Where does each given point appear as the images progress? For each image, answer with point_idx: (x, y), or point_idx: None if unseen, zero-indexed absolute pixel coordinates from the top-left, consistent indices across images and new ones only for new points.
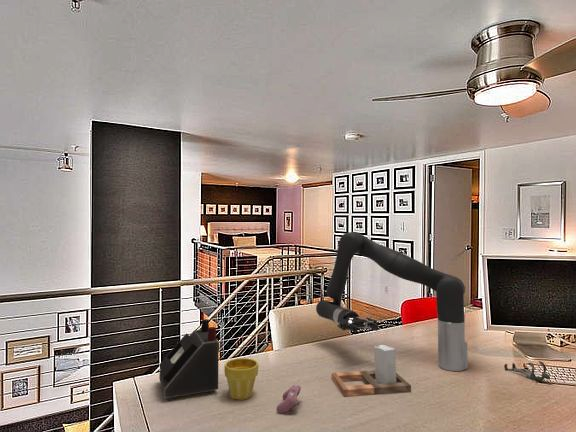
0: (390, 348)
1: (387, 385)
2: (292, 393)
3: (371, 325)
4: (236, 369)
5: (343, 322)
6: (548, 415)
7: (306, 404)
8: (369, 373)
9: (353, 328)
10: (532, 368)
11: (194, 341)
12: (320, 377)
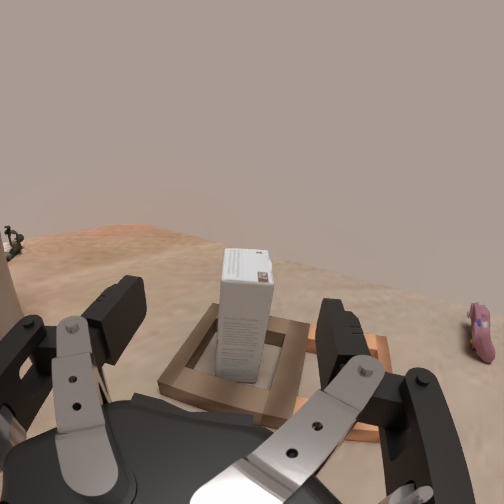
0: (236, 253)
1: (268, 321)
2: (480, 304)
3: (110, 338)
4: None
5: (426, 404)
6: (124, 230)
7: (451, 342)
8: (264, 391)
9: (347, 319)
10: (17, 235)
11: None
12: None
